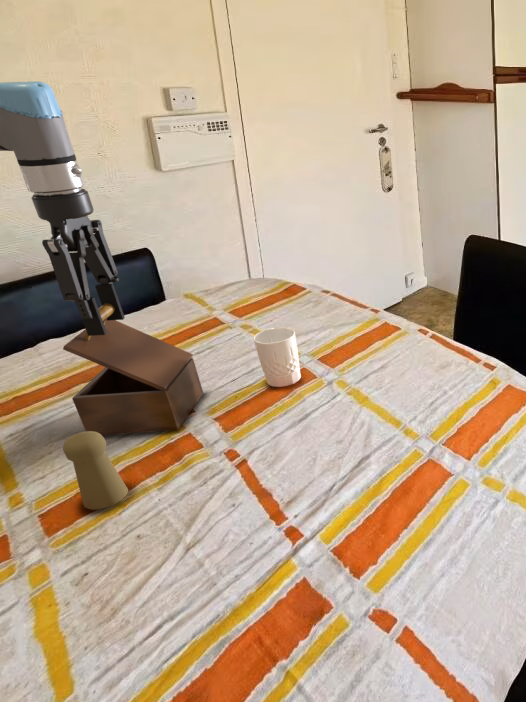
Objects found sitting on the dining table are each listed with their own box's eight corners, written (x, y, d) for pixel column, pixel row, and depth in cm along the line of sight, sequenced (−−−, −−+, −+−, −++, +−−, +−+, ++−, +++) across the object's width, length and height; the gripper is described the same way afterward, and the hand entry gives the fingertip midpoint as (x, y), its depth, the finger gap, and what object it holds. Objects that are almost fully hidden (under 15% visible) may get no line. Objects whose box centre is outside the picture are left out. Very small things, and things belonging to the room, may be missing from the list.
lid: (62, 349, 103) (72, 321, 101) (102, 318, 115) (111, 292, 113) (164, 391, 108) (175, 365, 106) (191, 357, 120) (202, 333, 118)
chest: (87, 436, 111) (71, 398, 107) (122, 398, 123) (109, 363, 119) (178, 429, 112) (165, 392, 108) (203, 393, 124) (193, 358, 120)
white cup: (272, 370, 132) (262, 327, 127) (309, 370, 132) (300, 327, 127) (258, 388, 125) (246, 343, 120) (296, 388, 125) (286, 343, 120)
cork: (130, 499, 95) (106, 439, 89) (84, 514, 92) (56, 453, 87) (126, 479, 99) (102, 421, 94) (82, 493, 96) (55, 434, 91)
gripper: (50, 203, 90) (103, 348, 101) (112, 178, 106) (151, 305, 117) (-5, 205, 89) (54, 351, 100) (65, 180, 106) (110, 307, 117)
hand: (107, 326), depth 109 cm, fingers closed on lid, 6 cm apart
